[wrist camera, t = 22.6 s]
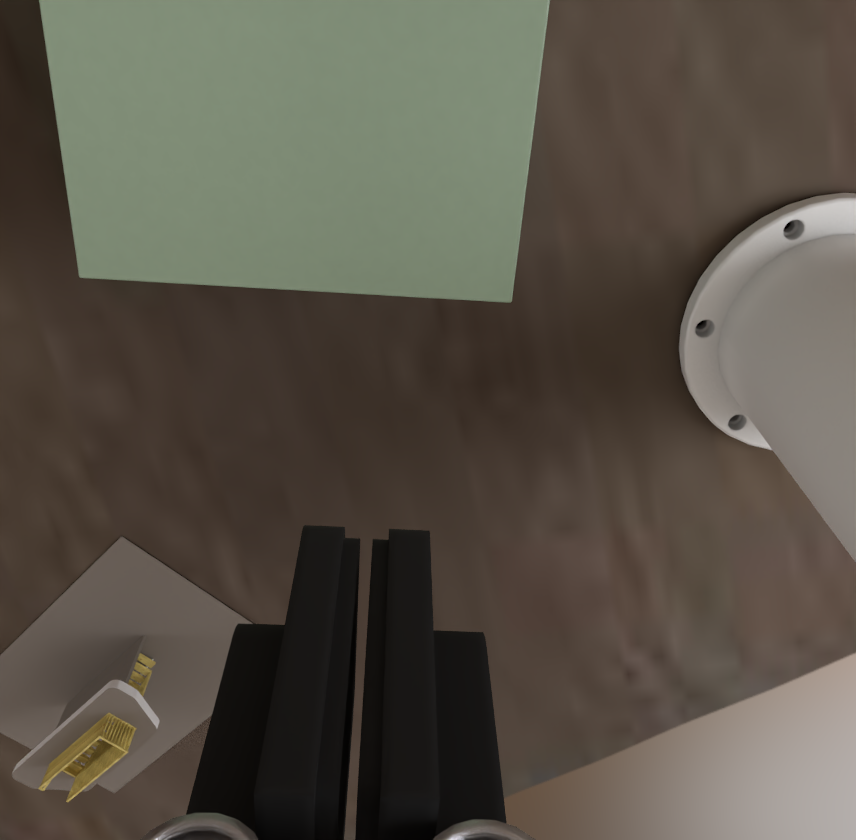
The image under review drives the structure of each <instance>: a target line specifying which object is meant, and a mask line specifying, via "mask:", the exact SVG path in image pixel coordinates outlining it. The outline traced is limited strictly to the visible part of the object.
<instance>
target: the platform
mask: <svg viewBox="0 0 856 840" xmlns="http://www.w3.org/2000/svg"><path fill="white" fill-rule="evenodd" d="M238 623H240V624H253V623H251V622H250V621H248V620H247V619H245V618H244V617H242V616H241V615H239V614H238V613H236V612H235V611H233V610H232V609H230V608H229V607H227V606H226V605H224V604H223V603H221V602H220V601H218V600H217V599H215V598H214V597H212V596H211V595H209V594H208V593H206V592H205V591H203V590H202V589H200V588H199V587H197V586H196V585H194V584H193V583H191V582H190V581H188V580H187V579H185V578H184V577H182V576H181V575H179V574H178V573H176V572H175V571H173V570H172V569H170V568H169V567H167V566H166V565H164V564H163V563H161V562H160V561H158V560H157V559H155V558H154V557H152V556H151V555H149V554H148V553H146V552H145V551H143V550H142V549H140V548H139V547H137V546H136V545H134V544H133V543H131V542H130V541H128V540H127V539H125V538H124V537H122V536H121V537H120V538H119V539H118V540H117V541H116V542H115V543H114V544H113V545H112V546H111V547H110V548H109V549H108V550H107V551H106V552H105V553H104V554H103V555H102V556H101V557H100V558H99V559H98V560H97V561H96V562H95V563H94V564H93V565H92V566H91V567H90V568H89V569H88V570H87V571H86V572H85V573H84V574H83V575H82V576H81V577H80V578H79V579H78V580H76V581H75V582H74V583H73V584H72V585H71V586H70V587H69V588H68V589H67V590H66V591H65V592H64V593H63V594H62V595H61V596H60V597H59V598H58V599H57V600H56V601H55V602H54V603H53V604H52V605H51V606H50V607H49V608H48V609H47V610H46V611H45V612H44V613H43V614H42V615H41V616H40V617H39V618H38V619H37V620H36V621H35V622H34V623H33V624H32V625H31V626H30V627H29V628H28V629H27V630H25V631H24V632H23V633H22V634H21V635H20V636H19V637H18V638H17V639H16V640H15V641H14V642H13V643H12V644H11V645H10V646H9V647H8V648H7V649H6V650H5V651H4V652H3V653H2V654H1V655H0V733H2V734H4V735H6V736H7V737H9V738H11V739H13V740H15V741H17V742H19V743H21V744H23V745H24V746H26V747H28V748H30V749H32V751H31V752H30V753H28V754H27V755H26V756H25V757H24V758H23V759H22V760H21V761H19V762H18V763H17V764H16V766H15V768H14V770H13V772H12V777H13V778H14V779H15V780H17V781H19V782H21V783H23V784H25V785H27V786H29V787H31V788H34V789H40V790H42V791H44V790H45V789H51V790H70V793H69V795H68V798H67V800H66V802H69V801H70V800H71V799H72V798H74V797H75V796H76V795H77V794H79V793H80V792H81V791H88V790H90V789H91V788H92V787H93V786H95V785H96V784H98V785H100V786H102V787H104V788H106V789H107V790H109V791H111V792H113V793H115V792H117V791H118V790H119V789H120V788H122V787H123V786H124V785H125V784H127V783H128V782H129V781H130V780H132V779H133V778H134V777H135V776H136V775H138V774H139V773H140V772H141V771H143V770H144V769H145V768H146V767H148V766H149V765H150V764H151V763H153V762H154V761H155V760H156V759H158V758H159V757H160V756H161V755H163V754H164V753H165V752H166V751H168V750H169V749H170V748H171V747H173V746H174V745H175V744H176V743H177V742H179V741H180V740H181V739H182V738H184V737H185V736H186V735H187V734H189V733H190V732H191V731H192V730H194V729H195V728H196V727H197V726H199V725H200V724H201V723H202V722H204V721H205V720H206V719H207V718H209V717H210V716H211V715H212V713H213V709H214V705H215V702H216V698H217V694H218V690H219V686H220V682H221V678H222V675H223V671H224V667H225V663H226V659H227V655H228V651H229V648H230V644H231V640H232V636H233V633H234V630H235V627H236V626H237V624H238Z"/></svg>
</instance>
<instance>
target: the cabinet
mask: <svg viewBox="0 0 856 840" xmlns="http://www.w3.org/2000/svg"><path fill="white" fill-rule="evenodd" d="M39 4H40V11H41V18H42V25H43V31H44V38H45V45H46V52H47V59H48V66H49V73H50V80H51V86H52V93H53V100H54V107H55V114H56V121H57V128H58V134H59V141H60V148H61V155H62V162H63V169H64V176H65V183H66V189H67V196H68V203H69V210H70V217H71V224H72V231H73V237H74V244H75V251H76V258H77V265H78V272H79V277H80V278H93V279H110V280H128V281H145V282H162V283H179V284H197V285H214V286H231V287H249V288H266V289H283V290H300V291H318V292H335V293H352V294H369V295H387V296H404V297H421V298H438V299H456V300H473V301H490V302H507V303H510V302H511V301H512V296H513V288H514V280H515V272H516V264H517V256H518V248H519V240H520V233H521V225H522V217H523V209H524V201H525V193H526V185H527V177H528V169H529V162H530V154H531V146H532V138H533V130H534V122H535V114H536V106H537V98H538V91H539V83H540V75H541V67H542V59H543V51H544V43H545V35H546V28H547V20H548V12H549V4H550V0H39Z"/></svg>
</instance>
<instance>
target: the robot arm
mask: <svg viewBox="0 0 856 840" xmlns="http://www.w3.org/2000/svg"><path fill="white" fill-rule="evenodd" d="M790 221H791V224H790V226H789V227H788V228H786V229H784V228H785V226H786V224H787V223H789V222H790ZM703 320H704V322H703V323H702V324H701V325H699V326H697V324H698V323H700V322H701V321H703ZM679 355H680V363H681V370H682V374H683V376H684V379H685V382H686V385H687V387H688V390H689V392H690V394H691V395H692V397H693V398H694V400H695V402H696V403H697V405H698V407H699V408H700V409H701V411H702V412H703V413H704V414H705V415H706V416H707V418H708V419H709V420H710V421H711V422H712V423H713V424H714V425H715V426H716V427H718V428H719V429H720V430H722V431H723V432H724V433H725V434H727V435H729V436H731V437H733V438H735V439H737V440H740V441H742V442H744V443H746V444H748V445H752V446H756V447H761V448H765V449H769V450H773V451H774V453H775V454H776V455H777V457H778V458H779V459H780V461H781V462H782V463H783V465H784V466H785V467H786V469H787V470H788V471H789V473H790V474H791V476H792V477H793V478H794V480H795V481H796V482H797V484H798V485H799V486H800V488H801V489H802V490H803V492H804V493H805V494H806V496H807V497H808V499H809V500H810V501H811V503H812V504H813V505H814V507H815V508H816V509H817V511H818V512H819V513H820V515H821V516H822V517H823V519H824V520H825V522H826V523H827V524H828V526H829V527H830V528H831V530H832V531H833V532H834V534H835V535H836V536H837V538H838V539H839V540H840V542H841V543H842V545H843V546H844V547H845V549H846V550H847V551H848V553H849V554H850V555H851V557H852V558H853V559H854V561H855V562H856V193H837V194H829V195H821V196H815V197H811V198H808V199H805V200H802V201H798V202H795V203H792V204H789V205H786V206H784V207H782V208H780V209H778V210H776V211H774V212H772V213H770V214H768V215H766V216H764V217H762V218H760V219H759V220H758V221H756V222H755V223H753V224H752V225H751V226H749V227H748V228H747V229H745V230H744V231H742V232H741V233H740V234H738V235H737V236H736V237H735V238H734V239H733V240H732V241H731V242H730V243H729V244H728V245H727V246H726V247H725V248H724V249H723V250H722V251H721V252H719V253H718V254H717V255H716V257H715V258H714V259H713V261H712V262H711V264H710V265H709V266H708V268H707V269H706V270H705V272H704V273H703V274H702V276H701V277H700V279H699V281H698V283H697V285H696V287H695V289H694V291H693V293H692V295H691V297H690V299H689V301H688V303H687V306H686V310H685V313H684V317H683V320H682V324H681V329H680V341H679ZM359 556H360V539H355V538H345V527H330V526H306V525H304V527H303V531H302V536H301V541H300V547H299V552H298V557H297V563H296V568H295V574H294V579H293V584H292V590H291V595H290V601H289V606H288V612H287V617H286V622H285V625H268V624H240V623H238V624H237V626H236V627H235V630H234V633H233V636H232V640H231V644H230V648H229V651H228V655H227V659H226V663H225V667H224V671H223V675H222V678H221V682H220V686H219V690H218V694H217V698H216V702H215V705H214V709H213V713H212V717H211V721H210V725H209V729H208V732H207V736H206V740H205V744H204V748H203V752H202V756H201V759H200V763H199V767H198V771H197V775H196V779H195V783H194V786H193V790H192V794H191V798H190V802H189V806H188V810H187V813H186V815H184V816H180V817H176V818H172V819H170V820H169V821H167V822H165V823H163V824H161V825H159V826H157V827H156V828H154V829H152V830H150V831H149V832H148V833H147V834H146V835H145V836H144V837H143V838H142V839H140V840H344V832H345V818H346V804H347V791H348V777H349V763H350V750H351V736H352V722H353V708H354V692H355V668H356V640H357V612H358V584H359ZM355 840H535V839H534V838H532V837H531V836H529V835H528V834H526V833H525V832H523V831H522V830H520V829H519V828H517V827H515V826H512V825H509V824H506V816H505V806H504V798H503V789H502V780H501V771H500V762H499V753H498V744H497V736H496V727H495V718H494V709H493V700H492V691H491V683H490V674H489V665H488V656H487V647H486V641H485V636H484V634H483V632H458V631H433V606H432V579H431V552H430V532H429V531H422V530H399V529H389V540H379V539H373V546H372V562H371V578H370V595H369V611H368V628H367V644H366V660H365V677H364V693H363V710H362V726H361V742H360V759H359V776H358V794H357V815H356V839H355Z"/></svg>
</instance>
